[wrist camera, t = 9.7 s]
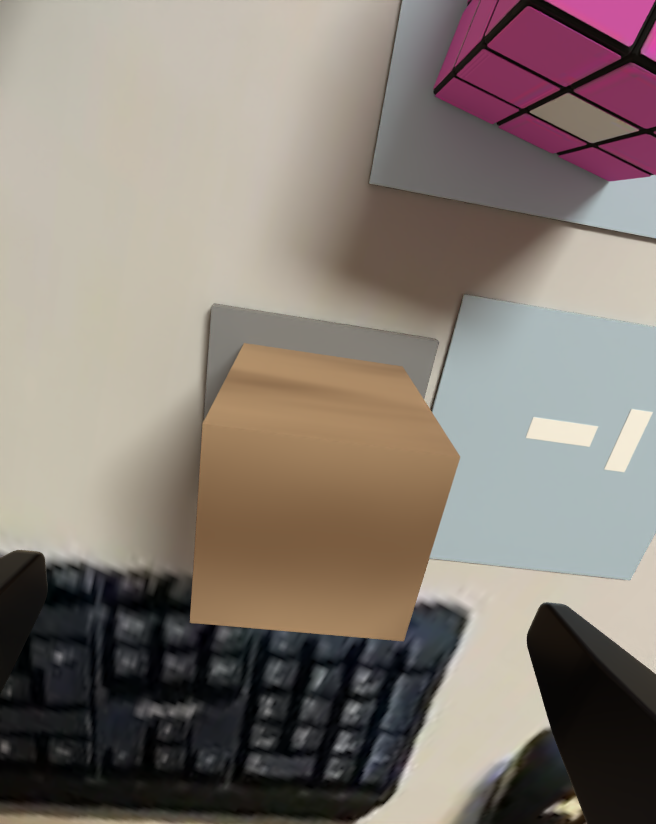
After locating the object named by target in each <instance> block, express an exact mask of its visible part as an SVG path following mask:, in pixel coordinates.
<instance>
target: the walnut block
mask: <svg viewBox="0 0 656 824" xmlns="http://www.w3.org/2000/svg"><path fill="white" fill-rule="evenodd" d="M459 460H460V455H459V454H458V452H457V451H456V449H455V448H454V446H453V444H452V443H451V441H450V440H449V438H448V437H447V435H446V433H445V432H444V430H443V429H442V427H441V426H440V424H439V423H438V421H437V419H436V418H435V416H434V415H433V413H432V412H431V410H430V408H429V407H428V405H427V404H426V402H425V401H424V399H423V397H422V396H421V394H420V393H419V391H418V390H417V388H416V387H415V385H414V383H413V382H412V380H411V379H410V377H409V376H408V374H407V372H406V371H405V369H404V368H403V366H397V365H390V364H383V363H376V362H370V361H363V360H356V359H349V358H342V357H336V356H329V355H322V354H315V353H308V352H302V351H295V350H288V349H281V348H274V347H267V346H261V345H254V344H247V343H244V344H243V346H242V348H241V350H240V352H239V354H238V356H237V358H236V360H235V362H234V364H233V366H232V367H231V369H230V371H229V373H228V375H227V377H226V379H225V381H224V383H223V385H222V387H221V389H220V391H219V393H218V395H217V397H216V399H215V400H214V402H213V404H212V406H211V408H210V410H209V412H208V414H207V416H206V418H205V420H204V422H203V424H202V440H201V455H200V471H199V487H198V503H197V518H196V534H195V550H194V566H193V581H192V597H191V613H190V623H199V624H211V625H222V626H234V627H245V628H257V629H269V630H280V631H292V632H303V633H315V634H327V635H338V636H350V637H361V638H373V639H385V640H396V641H404V639H405V635H406V632H407V629H408V626H409V622H410V619H411V616H412V613H413V609H414V606H415V603H416V600H417V596H418V593H419V590H420V587H421V583H422V580H423V577H424V574H425V571H426V567H427V564H428V561H429V558H430V554H431V551H432V548H433V545H434V541H435V538H436V535H437V532H438V528H439V525H440V522H441V519H442V515H443V512H444V509H445V506H446V502H447V499H448V496H449V493H450V489H451V486H452V483H453V480H454V476H455V473H456V470H457V467H458V463H459Z"/></svg>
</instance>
